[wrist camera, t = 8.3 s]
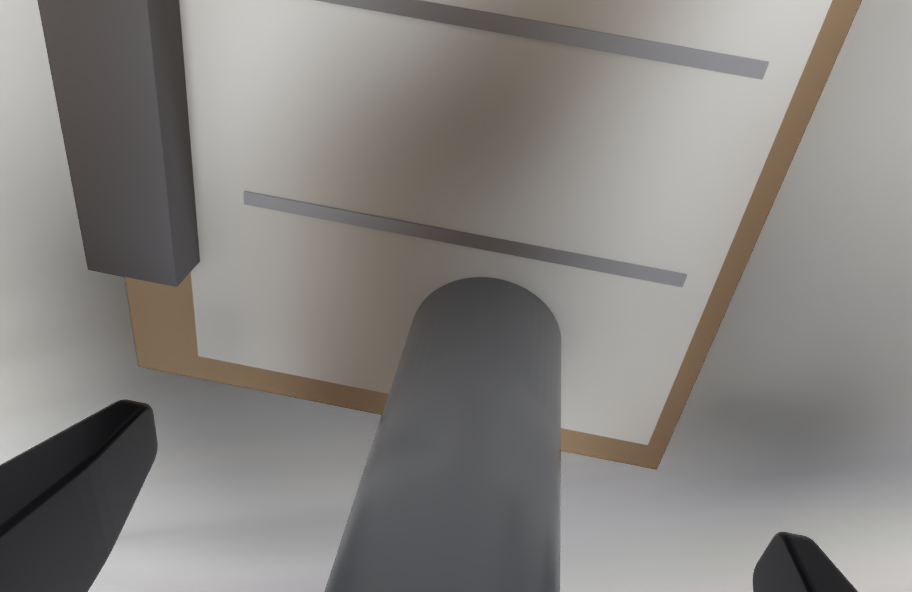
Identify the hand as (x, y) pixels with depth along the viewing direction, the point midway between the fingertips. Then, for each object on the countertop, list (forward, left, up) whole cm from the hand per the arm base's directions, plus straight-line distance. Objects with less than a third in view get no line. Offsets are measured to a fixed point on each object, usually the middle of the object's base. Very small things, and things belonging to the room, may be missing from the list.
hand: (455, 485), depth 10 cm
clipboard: (+2, -4, -4) cm, 6 cm away
